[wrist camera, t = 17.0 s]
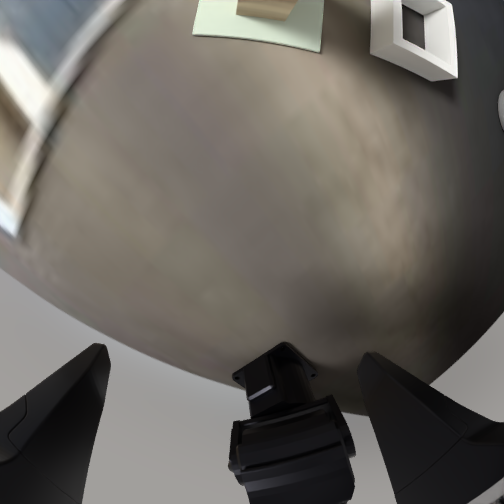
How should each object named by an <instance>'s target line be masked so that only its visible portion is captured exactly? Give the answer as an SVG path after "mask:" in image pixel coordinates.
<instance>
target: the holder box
mask: <svg viewBox="0 0 504 504" xmlns="http://www.w3.org/2000/svg"><path fill="white" fill-rule="evenodd" d="M402 4H403V5H405V6H407V7H409V8H411V9H413V10H415V11H416V12H418V13H420V14H422V15H423V16H424V29H425V50H424V49H422V48H420V47H418V46H416V45H414V44H412V43H410V42H408V41H406V40H404V39H403V27H402ZM370 54H371V55H374V56H377V57H379V58H382V59H384V60H387V61H389V62H391V63H394V64H396V65H398V66H401V67H403V68H405V69H407V70H409V71H411V72H413V73H415V74H418V75H420V76H422V77H423V78H425V79H427V80H429V81H431V82H432V81H439V80H447V79H455V78H458V69H457V46H456V34H455V24H454V16H453V10H452V5H451V4H450V3H449V2H447V1H446V0H371V39H370Z"/></svg>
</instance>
